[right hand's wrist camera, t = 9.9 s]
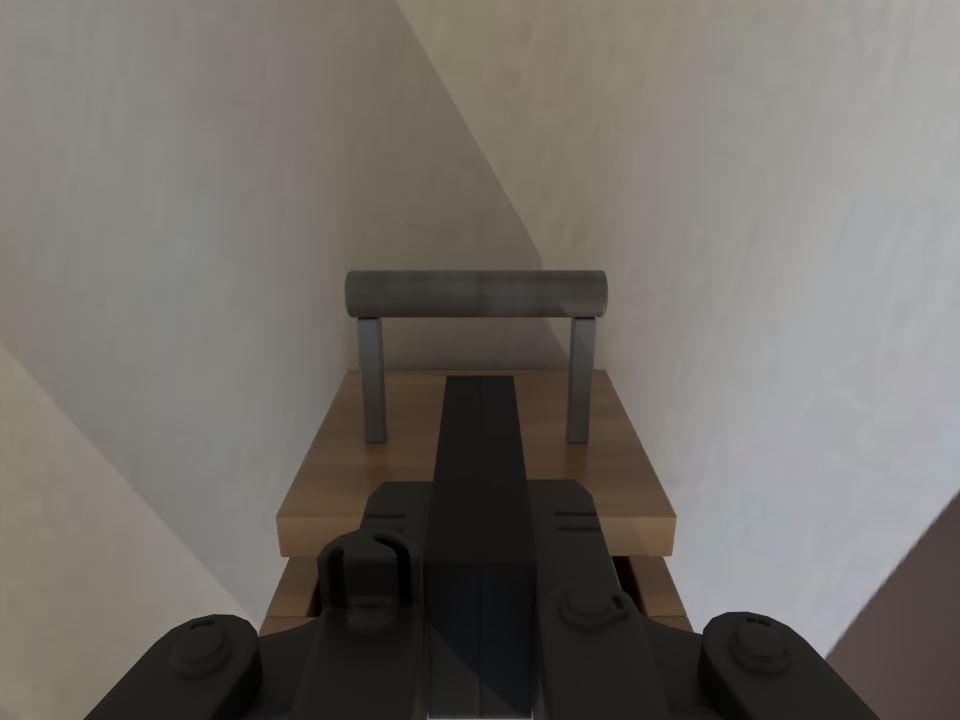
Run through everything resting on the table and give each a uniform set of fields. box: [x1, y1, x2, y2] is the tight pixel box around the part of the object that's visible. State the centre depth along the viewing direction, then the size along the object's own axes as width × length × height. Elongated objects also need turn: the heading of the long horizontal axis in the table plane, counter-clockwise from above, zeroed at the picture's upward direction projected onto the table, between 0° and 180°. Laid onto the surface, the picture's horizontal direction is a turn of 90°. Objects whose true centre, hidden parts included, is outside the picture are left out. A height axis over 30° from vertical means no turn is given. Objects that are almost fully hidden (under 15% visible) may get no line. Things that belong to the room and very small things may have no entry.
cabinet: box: [258, 556, 694, 720], centre depth 24 cm, size 18×11×12 cm, turn 0°
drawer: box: [276, 270, 677, 589], centre depth 22 cm, size 22×10×10 cm, turn 0°
